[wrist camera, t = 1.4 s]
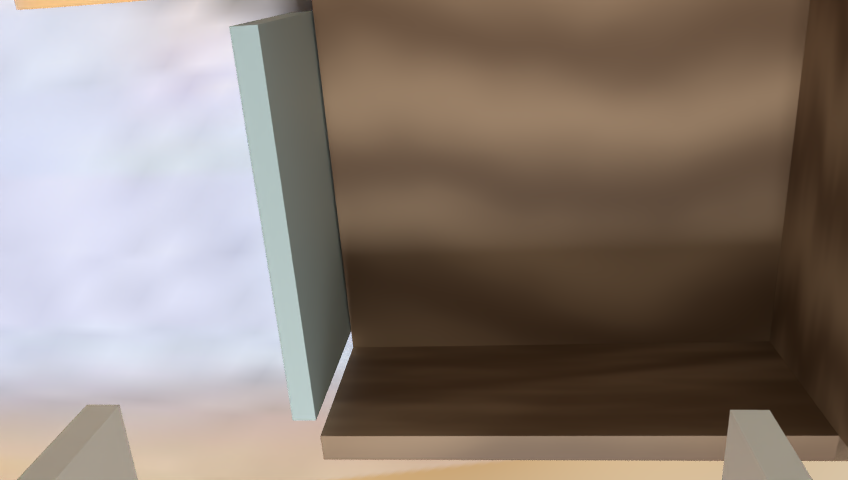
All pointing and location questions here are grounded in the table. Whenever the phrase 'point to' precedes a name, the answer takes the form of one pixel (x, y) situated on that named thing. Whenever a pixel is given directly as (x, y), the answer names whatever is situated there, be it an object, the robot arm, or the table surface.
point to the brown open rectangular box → (588, 225)
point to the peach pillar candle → (60, 3)
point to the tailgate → (295, 198)
